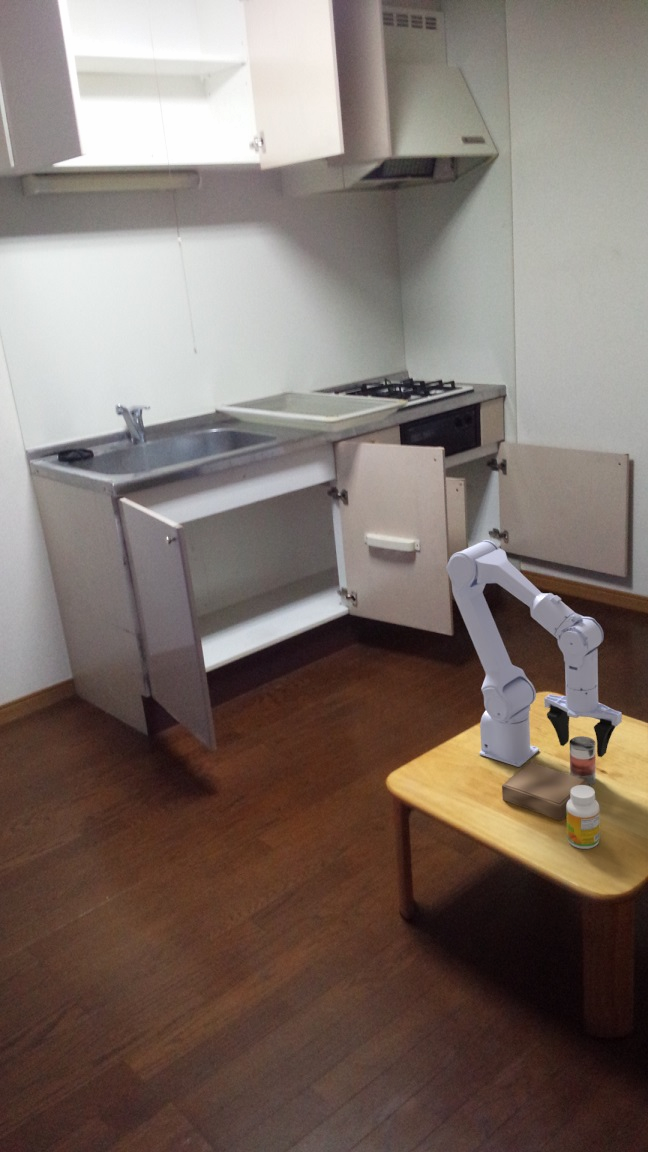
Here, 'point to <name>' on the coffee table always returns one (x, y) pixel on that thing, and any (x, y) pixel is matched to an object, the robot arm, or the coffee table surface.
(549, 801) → the brown rectangular block
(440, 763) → the coffee table surface
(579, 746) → the tin can
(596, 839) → the supplement bottle
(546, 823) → the coffee table surface
